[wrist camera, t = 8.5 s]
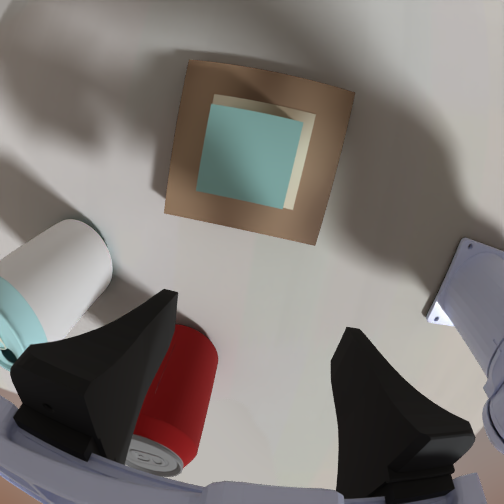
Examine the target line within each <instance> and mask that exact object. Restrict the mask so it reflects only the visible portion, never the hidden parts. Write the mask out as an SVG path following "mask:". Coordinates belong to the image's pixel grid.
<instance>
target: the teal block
mask: <svg viewBox="0 0 504 504" xmlns="http://www.w3.org/2000/svg"><path fill="white" fill-rule="evenodd" d="M303 123H304V122H300V121H296V120H292V119H288V118H283V117H279V116H274V115H270V114H265V113H260V112H255V111H250V110H245V109H239V108H234V107H228V106H222V105H215V104H211V108H210V113H209V118H208V123H207V129H206V134H205V139H204V145H203V150H202V156H201V162H200V168H199V174H198V180H197V186H196V191H199V192H204V193H209V194H214V195H219V196H224V197H228V198H233V199H238V200H243V201H247V202H252V203H256V204H261V205H265V206H270V207H274V208H279V209H283V206H284V202H285V198H286V194H287V189H288V185H289V181H290V177H291V173H292V169H293V165H294V161H295V156H296V152H297V148H298V144H299V140H300V135H301V131H302V127H303Z"/></svg>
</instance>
